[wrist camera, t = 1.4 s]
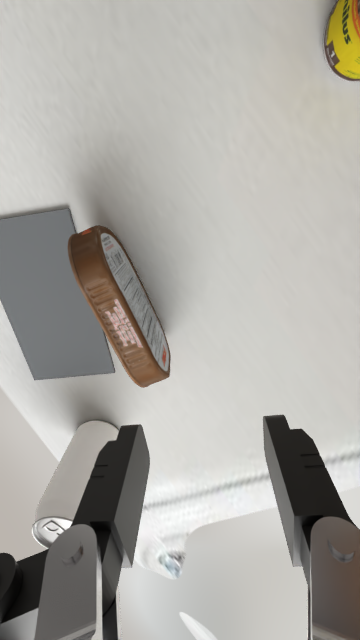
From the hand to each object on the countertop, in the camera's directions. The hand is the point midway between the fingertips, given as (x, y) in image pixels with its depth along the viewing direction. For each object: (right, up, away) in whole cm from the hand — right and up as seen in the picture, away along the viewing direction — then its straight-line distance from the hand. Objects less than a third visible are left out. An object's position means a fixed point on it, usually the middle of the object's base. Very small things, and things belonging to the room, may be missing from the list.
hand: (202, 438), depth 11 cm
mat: (-15, +6, +19) cm, 25 cm away
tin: (-5, +7, +19) cm, 21 cm away
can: (-11, -11, +27) cm, 31 cm away
